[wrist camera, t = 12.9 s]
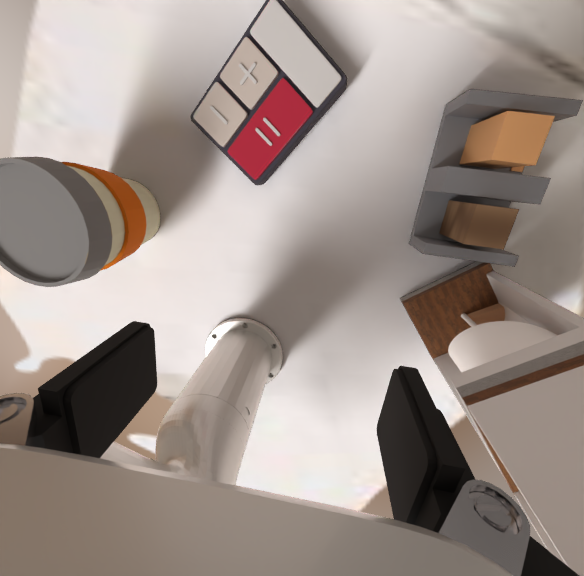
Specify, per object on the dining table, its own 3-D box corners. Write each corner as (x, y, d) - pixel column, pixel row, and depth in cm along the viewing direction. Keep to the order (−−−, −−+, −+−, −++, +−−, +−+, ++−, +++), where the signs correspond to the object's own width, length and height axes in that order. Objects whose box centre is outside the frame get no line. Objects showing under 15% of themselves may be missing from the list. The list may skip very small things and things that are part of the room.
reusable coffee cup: (119, 266, 44) (23, 304, 30) (72, 186, 41) (-61, 187, 27) (188, 238, 41) (116, 265, 27) (143, 149, 38) (35, 128, 24)
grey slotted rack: (486, 254, 37) (514, 266, 32) (408, 243, 38) (422, 254, 32) (538, 114, 32) (583, 99, 26) (445, 104, 32) (470, 88, 27)
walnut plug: (471, 237, 36) (503, 249, 29) (439, 233, 36) (463, 243, 30) (482, 204, 35) (519, 209, 28) (448, 200, 35) (477, 204, 28)
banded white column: (481, 258, 38) (1485, 748, 5) (510, 322, 40) (1306, 929, 7) (399, 298, 41) (689, 758, 8) (430, 355, 43) (749, 885, 11)
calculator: (185, 116, 33) (271, -16, 27) (201, 122, 37) (279, 7, 31) (255, 187, 35) (349, 76, 29) (263, 185, 39) (348, 87, 33)
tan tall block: (508, 129, 32) (554, 116, 25) (494, 168, 33) (535, 165, 27) (470, 125, 32) (507, 110, 25) (459, 164, 33) (491, 159, 27)
